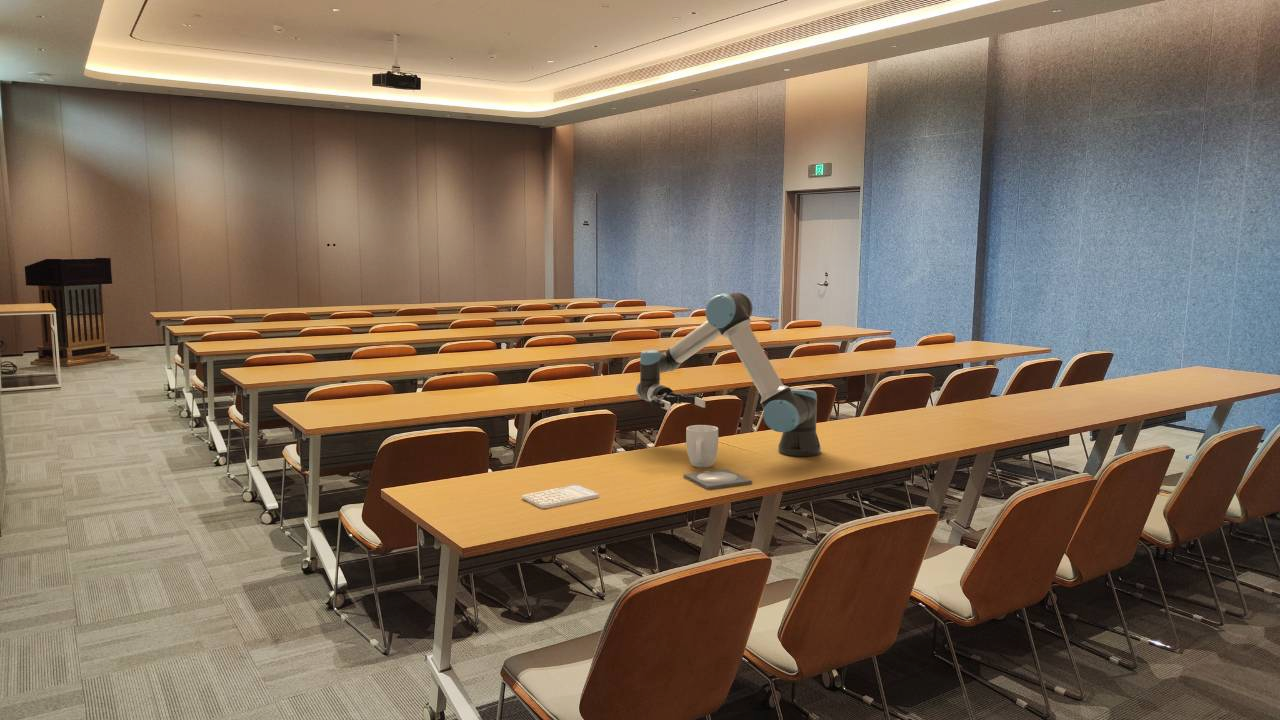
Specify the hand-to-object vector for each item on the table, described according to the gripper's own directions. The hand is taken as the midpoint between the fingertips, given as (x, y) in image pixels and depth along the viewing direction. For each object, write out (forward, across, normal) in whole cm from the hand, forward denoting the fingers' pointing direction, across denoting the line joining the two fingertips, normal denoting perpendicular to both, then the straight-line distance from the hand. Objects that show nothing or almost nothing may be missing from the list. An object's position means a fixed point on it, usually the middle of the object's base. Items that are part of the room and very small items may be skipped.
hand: (687, 405), depth 302 cm
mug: (+11, 0, -20) cm, 22 cm away
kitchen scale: (+29, +4, -19) cm, 35 cm away
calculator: (+26, +56, -20) cm, 65 cm away
